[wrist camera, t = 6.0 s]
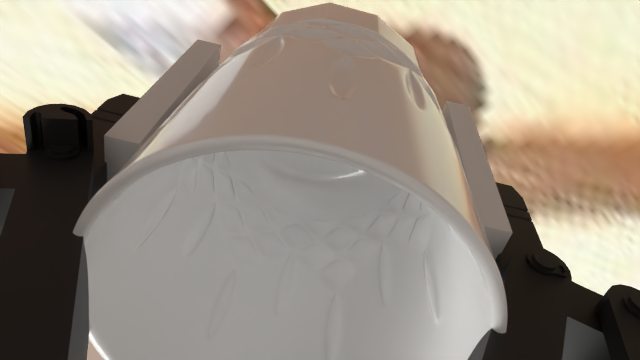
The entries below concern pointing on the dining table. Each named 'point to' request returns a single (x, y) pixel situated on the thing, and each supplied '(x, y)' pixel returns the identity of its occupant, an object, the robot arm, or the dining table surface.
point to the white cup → (295, 212)
